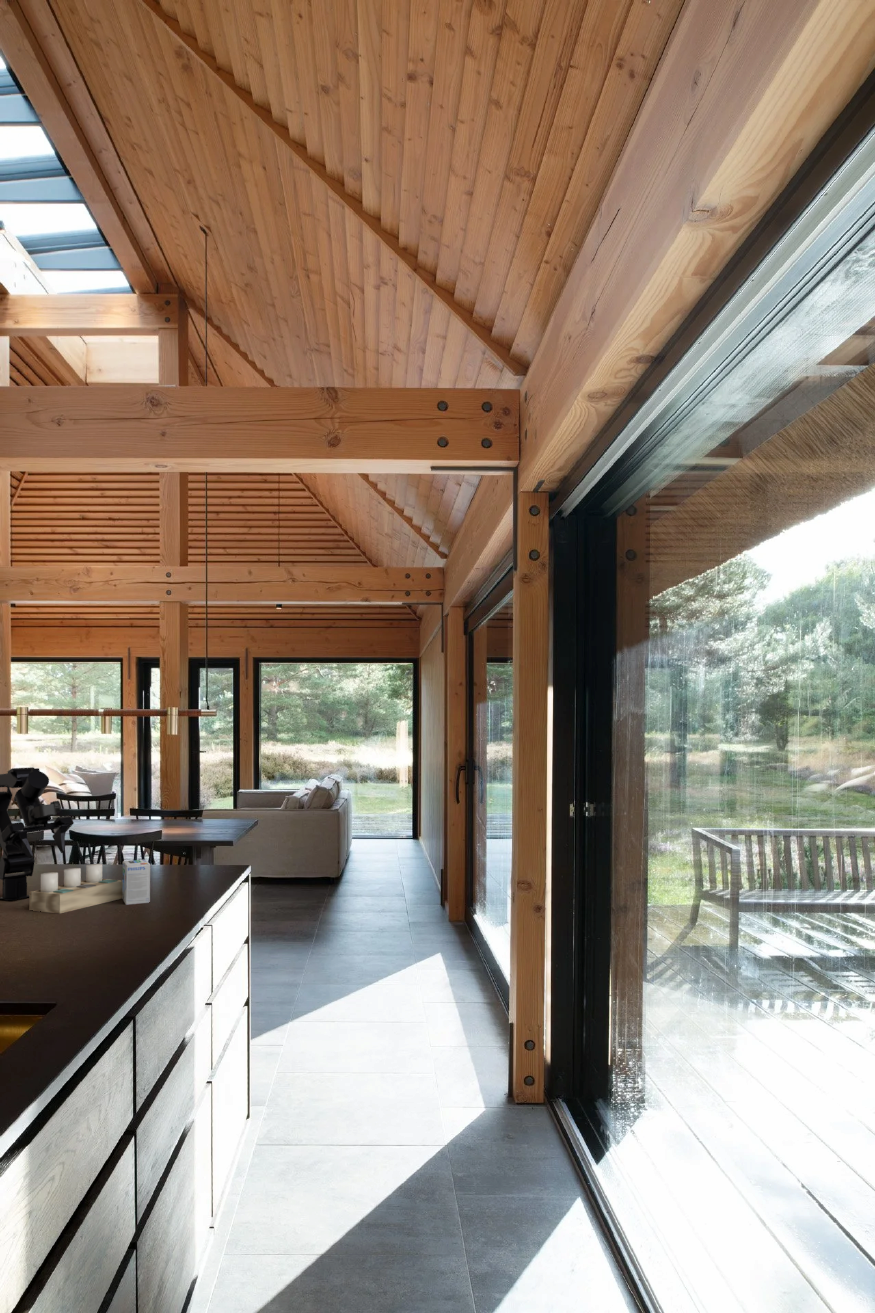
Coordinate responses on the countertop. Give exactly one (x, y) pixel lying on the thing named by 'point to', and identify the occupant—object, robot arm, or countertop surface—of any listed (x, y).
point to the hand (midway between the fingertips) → (47, 855)
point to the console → (75, 896)
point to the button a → (49, 882)
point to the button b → (72, 877)
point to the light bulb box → (136, 882)
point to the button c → (93, 873)
